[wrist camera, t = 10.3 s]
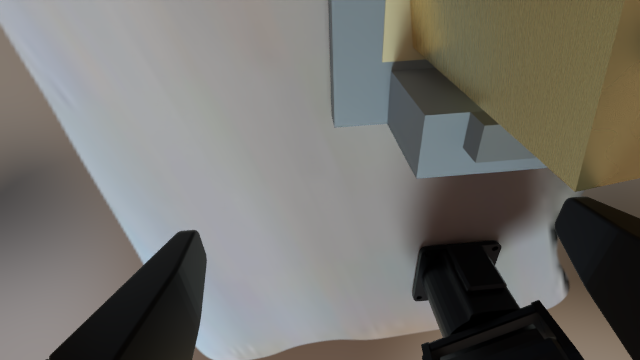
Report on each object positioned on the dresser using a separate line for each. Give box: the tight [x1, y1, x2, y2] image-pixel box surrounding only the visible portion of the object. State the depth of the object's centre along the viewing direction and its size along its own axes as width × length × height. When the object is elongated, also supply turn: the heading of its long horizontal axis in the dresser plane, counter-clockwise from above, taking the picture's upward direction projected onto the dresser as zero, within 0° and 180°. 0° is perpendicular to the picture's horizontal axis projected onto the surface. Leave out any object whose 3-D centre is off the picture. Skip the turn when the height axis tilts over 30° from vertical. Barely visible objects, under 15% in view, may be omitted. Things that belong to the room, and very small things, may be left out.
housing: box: [410, 0, 640, 192], centre depth 10 cm, size 5×5×14 cm
